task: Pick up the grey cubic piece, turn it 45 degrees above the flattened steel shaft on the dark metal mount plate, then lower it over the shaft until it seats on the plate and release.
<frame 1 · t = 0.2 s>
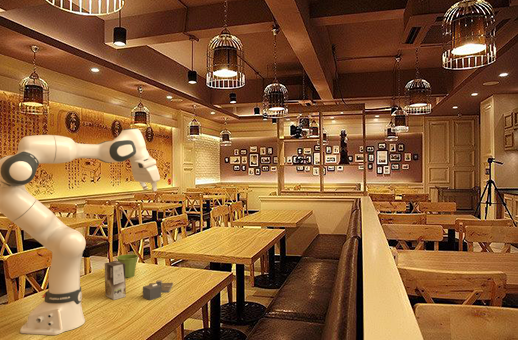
hand: (150, 190, 175), 51 cm above the table, tool tilted 20°, fingers open, 8 cm apart
coffee box: (115, 296, 182), on the table
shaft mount: (159, 288, 192), on the table
grey cubic piece: (152, 297, 180), on the table
plant pot: (127, 276, 213), on the table
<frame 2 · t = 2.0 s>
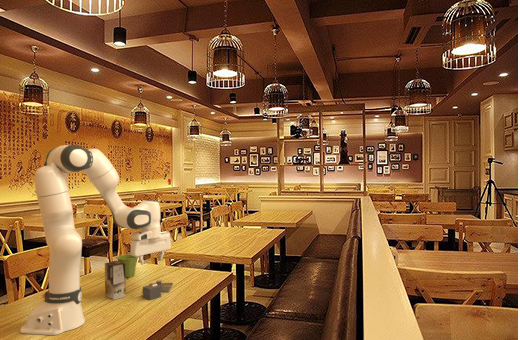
hand: (151, 262, 180), 17 cm above the table, tool pointing down, fingers open, 8 cm apart
nothing on the table moved.
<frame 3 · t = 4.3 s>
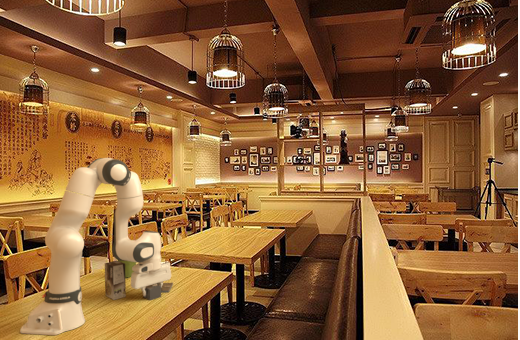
hand: (152, 293, 180), 2 cm above the table, tool pointing down, fingers closed on grey cubic piece, 6 cm apart
grey cubic piece: (152, 297, 180), on the table, touching gripper
everything else where it was.
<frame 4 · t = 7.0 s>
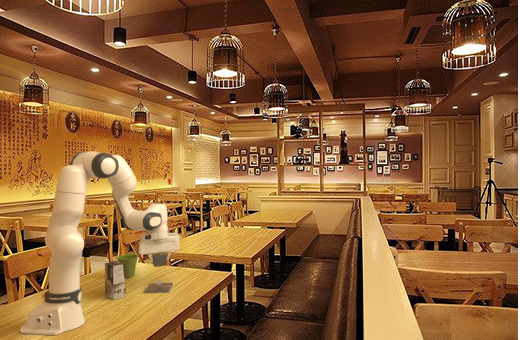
hand: (159, 261, 192), 14 cm above the table, tool pointing down, fingers closed on grey cubic piece, 6 cm apart
grey cubic piece: (159, 264, 192), point 12 cm above the table, touching gripper
everything else where it was.
when the fingers open (3 cm above the table, at t = 10.2 s): grey cubic piece stays where it is, resting on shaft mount.
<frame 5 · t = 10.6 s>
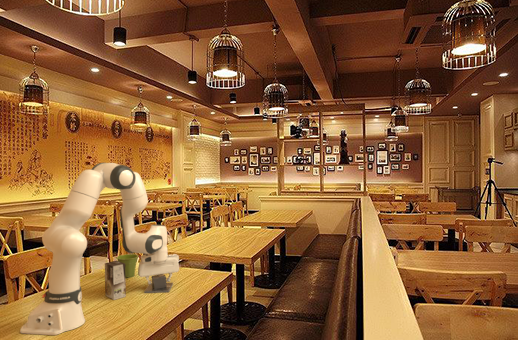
hand: (159, 282, 192), 3 cm above the table, tool pointing down, fingers open, 8 cm apart
grey cubic piece: (159, 286, 192), point 1 cm above the table, touching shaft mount
everything else where it was.
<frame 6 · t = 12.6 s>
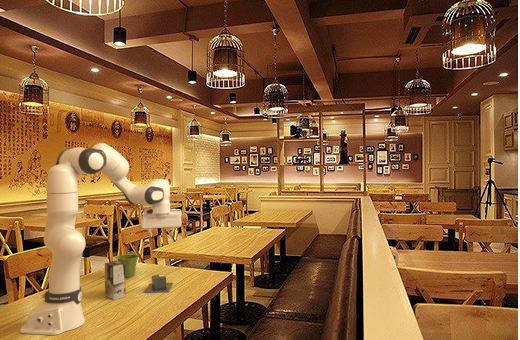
hand: (161, 236, 194), 26 cm above the table, tool pointing down, fingers open, 8 cm apart
nothing on the table moved.
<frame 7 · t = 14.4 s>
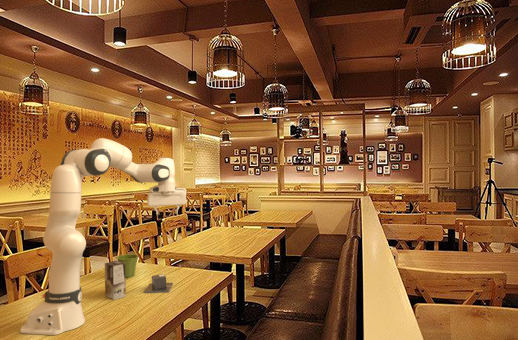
hand: (167, 213, 199), 37 cm above the table, tool pointing down, fingers open, 8 cm apart
nothing on the table moved.
at the end: grey cubic piece 0.1 cm off-centre on the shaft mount, point 1.1 cm above the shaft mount's base; grey cubic piece tilted 2°; the gripper is holding nothing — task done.
